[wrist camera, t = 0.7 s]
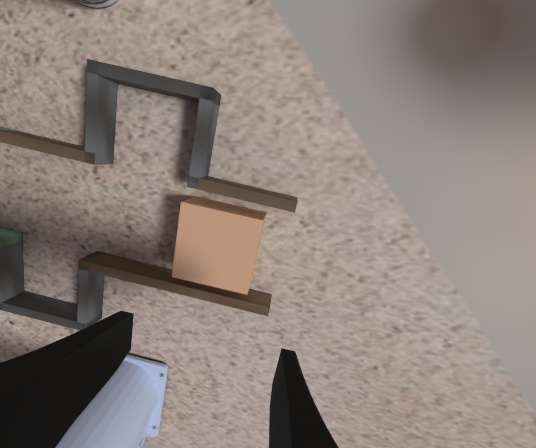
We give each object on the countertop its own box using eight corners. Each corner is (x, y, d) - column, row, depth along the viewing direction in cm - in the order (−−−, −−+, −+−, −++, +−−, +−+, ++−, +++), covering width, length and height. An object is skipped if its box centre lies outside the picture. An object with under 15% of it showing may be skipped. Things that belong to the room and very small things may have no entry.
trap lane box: (255, 357, 24) (252, 374, 22) (-42, 281, 25) (-70, 291, 23) (317, 117, 18) (320, 112, 17) (-71, 28, 19) (-111, 13, 17)
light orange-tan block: (252, 277, 22) (247, 294, 20) (186, 261, 23) (171, 277, 20) (266, 211, 21) (263, 220, 18) (195, 195, 21) (180, 201, 18)
